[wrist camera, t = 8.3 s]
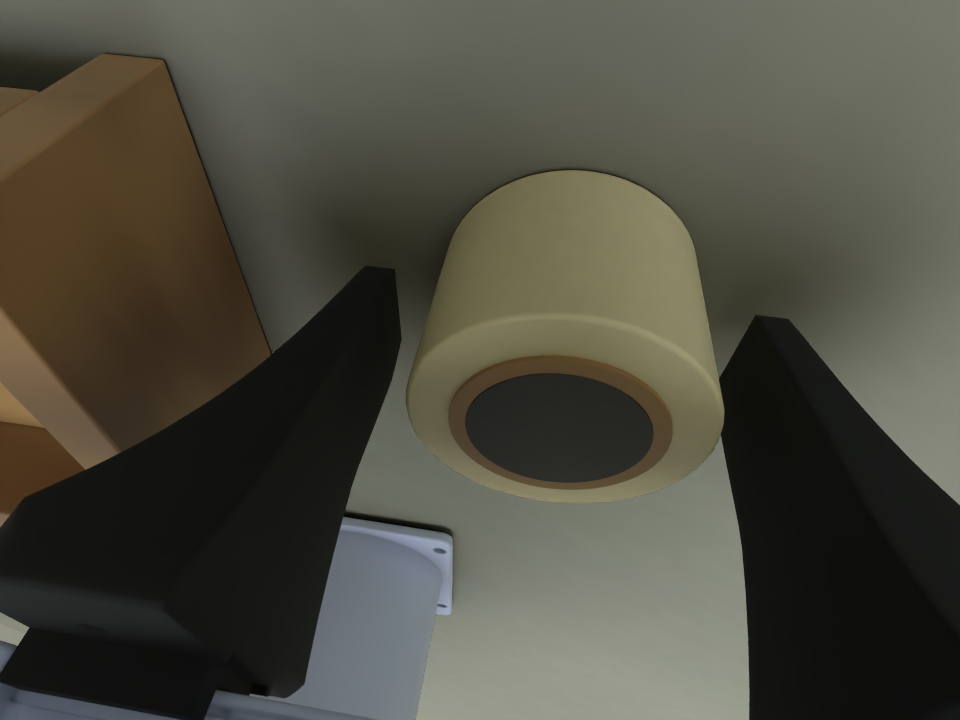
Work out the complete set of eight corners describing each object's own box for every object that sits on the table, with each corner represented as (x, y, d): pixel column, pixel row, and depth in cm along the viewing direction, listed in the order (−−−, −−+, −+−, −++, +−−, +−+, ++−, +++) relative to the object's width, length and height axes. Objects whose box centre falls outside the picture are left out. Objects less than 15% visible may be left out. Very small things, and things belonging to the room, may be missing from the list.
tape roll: (655, 376, 14) (668, 527, 11) (446, 347, 14) (411, 487, 12) (738, 185, 10) (790, 350, 7) (445, 152, 10) (390, 298, 8)
